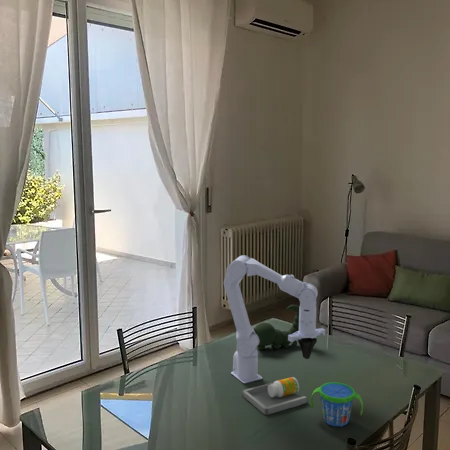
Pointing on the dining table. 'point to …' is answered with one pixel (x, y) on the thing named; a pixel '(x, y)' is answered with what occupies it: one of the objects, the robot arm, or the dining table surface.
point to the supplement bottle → (283, 387)
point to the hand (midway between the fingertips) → (306, 357)
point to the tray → (270, 400)
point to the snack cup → (336, 402)
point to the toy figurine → (276, 332)
